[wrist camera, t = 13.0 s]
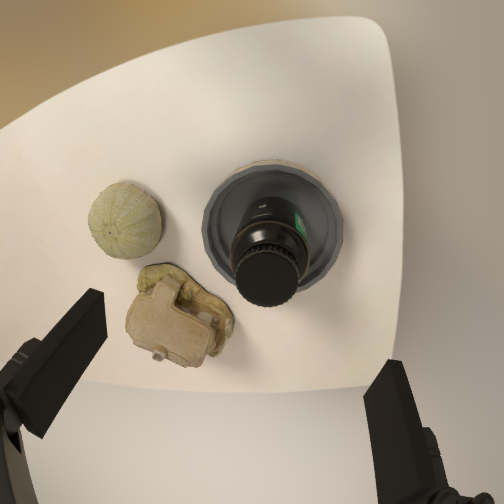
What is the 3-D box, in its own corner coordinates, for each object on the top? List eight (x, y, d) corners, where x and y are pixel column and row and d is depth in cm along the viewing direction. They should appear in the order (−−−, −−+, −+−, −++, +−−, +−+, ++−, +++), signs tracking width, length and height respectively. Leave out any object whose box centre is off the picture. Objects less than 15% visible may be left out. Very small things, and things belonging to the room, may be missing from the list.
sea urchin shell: (166, 266, 36) (102, 280, 31) (142, 240, 41) (87, 250, 36) (169, 189, 32) (96, 197, 27) (144, 174, 37) (83, 180, 32)
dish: (248, 134, 31) (244, 136, 27) (362, 205, 32) (370, 215, 29) (189, 242, 36) (180, 255, 33) (292, 299, 38) (292, 316, 35)
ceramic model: (128, 312, 42) (97, 358, 33) (147, 250, 37) (110, 292, 28) (216, 355, 43) (201, 408, 34) (249, 299, 39) (239, 354, 30)
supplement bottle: (305, 194, 32) (315, 237, 21) (304, 254, 35) (310, 318, 24) (240, 195, 33) (216, 238, 22) (243, 254, 36) (224, 317, 25)
